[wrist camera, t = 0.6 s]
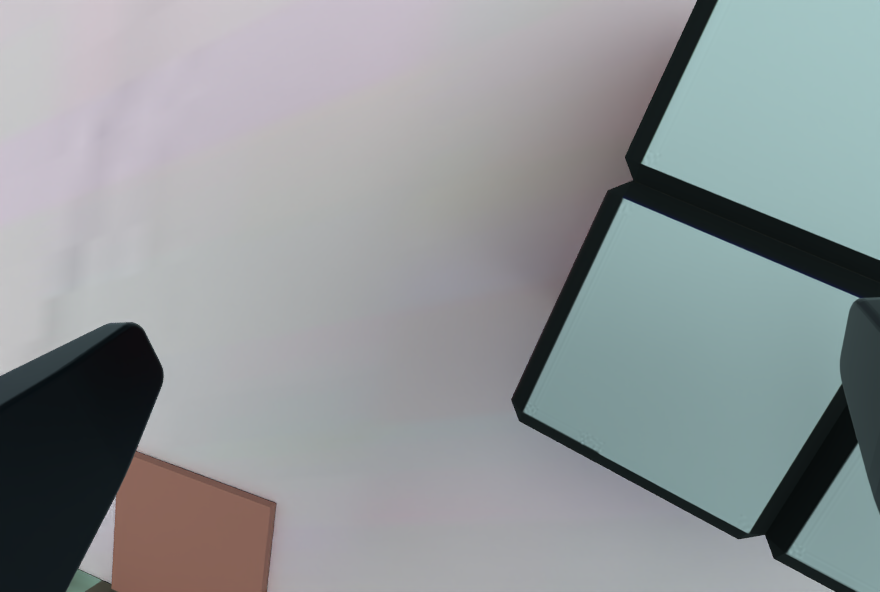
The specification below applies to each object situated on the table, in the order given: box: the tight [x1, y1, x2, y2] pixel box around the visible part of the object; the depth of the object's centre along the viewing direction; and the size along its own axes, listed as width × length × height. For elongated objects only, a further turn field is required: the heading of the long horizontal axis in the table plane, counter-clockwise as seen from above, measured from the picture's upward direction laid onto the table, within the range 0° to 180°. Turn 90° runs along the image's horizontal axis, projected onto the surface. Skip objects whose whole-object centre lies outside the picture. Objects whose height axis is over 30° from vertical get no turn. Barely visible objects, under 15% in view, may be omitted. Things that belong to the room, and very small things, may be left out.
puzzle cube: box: [511, 0, 880, 592], centre depth 15 cm, size 10×10×10 cm
